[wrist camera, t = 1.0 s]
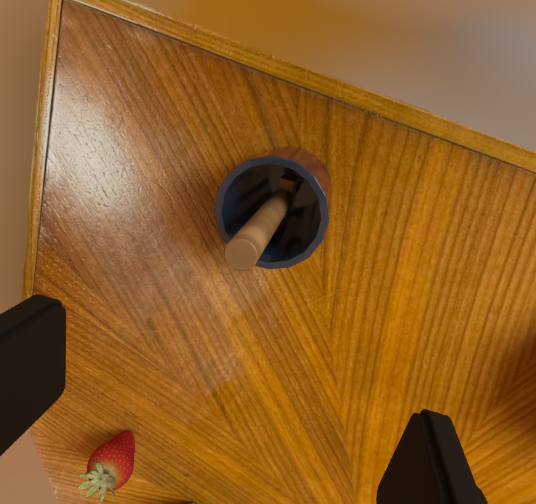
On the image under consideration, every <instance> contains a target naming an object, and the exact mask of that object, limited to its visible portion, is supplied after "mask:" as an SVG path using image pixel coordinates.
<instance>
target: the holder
mask: <svg viewBox="0 0 536 504" xmlns="http://www.w3.org/2000/svg"><path fill="white" fill-rule="evenodd" d="M284 173H287V174H291V175H295V176H298V180H297V184H296V188H295V192H294V196H293V200H292V204H291V208H290V211H289V213H288V214H287V216H286V218H283V219H282V220H281V222H280V224H279V226H278V227H277V229H276V231H275V232H274V234H273V236H272V237H271V239H270V241H269V243H268V244H267V246H266V248H265V249H264V251H263V253H262V255H261V256H260V258H259V260H258V261H257V263H256V266H259V267H263V268H266V269H277V268H287V267H291V266H293V265H295V264H297V263H299V262H301V261H303V260H305V259H307V258H308V257H310V256H311V254H312V253H313V252H314V251H315V250H316V248H317V247H318V246H319V245H320V244H321V242H322V240H323V239H324V235H325V232H326V228H327V225H328V222H329V215H330V206H331V197H332V191H331V182H330V176H329V174H328V172H327V170H326V168H325V167H324V165H323V164H322V162H321V161H320V160H319V159H318V158H317V157H316V156H314V155H313V154H312V153H310V152H308V151H306V150H304V149H301V148H297V147H291V146H287V147H280V148H275V149H271V150H269V151H267V152H264V153H262V154H260V155H257V156H255V157H252V158H250V159H248V160H246V161H245V162H243V163H242V164H240V165H239V166H237V167H236V168H234V169H233V170H231V171H230V172H229V173H228V175H227V176H226V178H225V180H224V181H223V183H222V184H221V186H220V187H219V189H218V192H217V197H216V203H215V209H214V211H215V212H214V213H215V218H216V222H217V227H218V231H219V234H220V235H221V237H222V238H223V240H224V241H225V243H226V244H228V242H229V241H230V240H231V239H232V238H233V237H234V236H235V235H236V234H237V233H238V231H239V230H240V229H241V228H242V227H243V226H244V225H245V224H246V223H247V222H248V221H249V219H250V218H251V217H252V216H253V215H254V214H255V213H256V212H257V211H258V210H259V208H260V207H261V206H262V205H263V204H264V203H265V202H266V201H267V200H268V199H269V198H270V196H271V195H272V194H273V193H274V192H275V191H276V190H277V187H278V182H279V178H280V177H281V176H282V175H283V174H284Z"/></svg>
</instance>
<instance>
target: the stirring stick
mask: <svg viewBox="0 0 536 504" xmlns="http://www.w3.org/2000/svg"><path fill="white" fill-rule="evenodd" d="M297 180H298V176H295V175H291V174H287V173H284V174H283V175H282V176H281V177H280V178H279V182H278V187H277V190H276V191H275V192H274V193H273V194H272V195H271V196H270V198H269V199H268V200H267V201H266V202H265V203H264V204H263V205H262V206H261V207H260V208H259V210H258V211H257V212H256V213H255V214H254V215H253V216H252V217H251V218H250V219H249V221H248V222H247V223H246V224H245V225H244V226H243V227H242V228H241V229H240V230H239V231H238V233H237V234H236V235H235V236H234V237H233V238H232V239H231V240H230V241H229V242H228V244H227V245H226V247H225V250H224V257H225V260H226V262H227V263H228V265H229V266H230V267H232V268H233V269H235V270H238V271H247V270H250V269H252V268H253V267H254V266H255V265H256V263H257V261H258V260H259V258H260V256H261V255H262V253H263V251H264V249H265V248H266V246H267V244H268V243H269V241H270V239H271V237H272V236H273V234H274V232H275V231H276V229H277V227H278V226H279V224H280V222H281V220H282V219H283V218H286V216H287V214H288V213H289V211H290V208H291V204H292V200H293V196H294V192H295V188H296V184H297Z"/></svg>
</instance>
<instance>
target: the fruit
mask: <svg viewBox="0 0 536 504" xmlns="http://www.w3.org/2000/svg"><path fill="white" fill-rule="evenodd" d="M134 452H135V439H134V436H133V433H132V432H130V431H124V432H122V433H120V434H118V435H117V436H115V437H114V438H113V439H111V440H110V441H108V442H106V443H105V444H103V445H101V446H99V447H98V448H97V449H96V450H95V451H94V452H93V453H92V455H91V456H90V459H89V461H88V465H87V472H86V473H84V474H81V475H80V476H79V477H82V478H88V479H89V481H86V482H84V483H82V484H81V485H80V486H79V488H78V490H82V489H86V488H90V487H92V486H93V487H92V488H91V489H90V490H89V491H88V492H87V494H86V496H85V498H88V497H90V496H91V495H93V494H94V493H95V492H96V491H97V490H98V489H101V490H100V493H99V499H100V500H101V501H102V500H103V498H104V496H105V494H106V491H112V493H113V497H112V499H113V498H114V494H115V493H114V490H117V489H119V488H120V487H122V486H123V485H124V484H125V483H126V482H127V481H128V480H129V478H130V476H131V474H132V472H133V466H134Z"/></svg>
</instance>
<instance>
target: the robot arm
mask: <svg viewBox="0 0 536 504" xmlns="http://www.w3.org/2000/svg"><path fill="white" fill-rule="evenodd" d="M65 374H66V310H65V308H64V307H62V303H61V302H60V301H59V300H57V299H54V298H50V297H47V296H44V295H40V294H36V295H34V296H32V297H30V298H28V299H26V300H25V301H23V302H21V303H19V304H18V305H16V306H14V307H13V308H11V309H9V310H7V311H5V312H4V313H2V314H0V456H1V455H2V454H3V453H4V452H5V451H6V450H7V449H8V448H9V447H10V446H11V445H12V444H13V443H14V442H15V441H16V440H17V439H18V438H19V437H20V436H21V435H22V434H23V433H24V432H25V431H26V430H27V429H28V428H29V427H30V426H31V425H32V424H33V423H34V422H35V421H36V420H38V419H39V418H40V417H41V416H42V415H43V414H44V413H45V412H46V411H47V410H48V409H49V408H50V407H51V406H52V405H53V404H54V403H55V402H56V401H57V400H58V399H59V397H60V396H61V395H62V393H63V391H64V388H65ZM376 501H377V504H488V503H487V501H486V498H485V497H484V495H483V493H482V491H481V490H480V489H479V488H478V487H477V486H476V483H475V481H474V478H473V476H472V473H471V470H470V468H469V465H468V462H467V460H466V457H465V455H464V452H463V449H462V447H461V444H460V441H459V439H458V436H457V433H456V431H455V428H454V426H453V423H452V421H451V419H450V417H448V416H446V415H443V414H440V413H436V412H433V411H429V410H426V409H423V410H422V411H421V412H420V414H418V413H414V414H413V415H412V416H411V418H410V420H409V422H408V425H407V427H406V429H405V431H404V433H403V435H402V437H401V439H400V441H399V444H398V446H397V448H396V450H395V452H394V454H393V456H392V458H391V461H390V463H389V465H388V467H387V469H386V471H385V473H384V475H383V477H382V480H381V482H380V484H379V486H378V490H377V498H376Z"/></svg>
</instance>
